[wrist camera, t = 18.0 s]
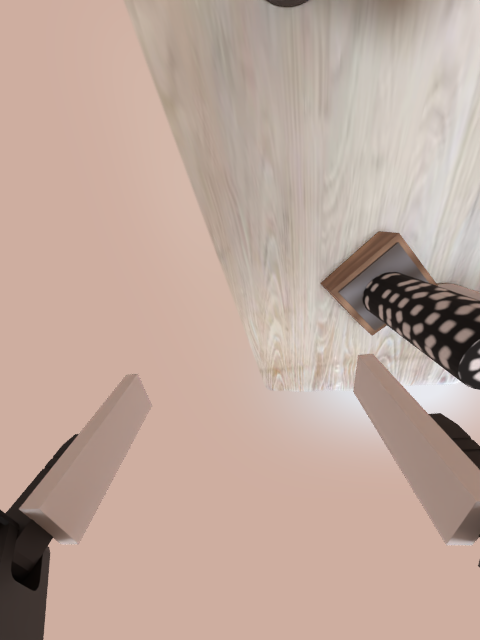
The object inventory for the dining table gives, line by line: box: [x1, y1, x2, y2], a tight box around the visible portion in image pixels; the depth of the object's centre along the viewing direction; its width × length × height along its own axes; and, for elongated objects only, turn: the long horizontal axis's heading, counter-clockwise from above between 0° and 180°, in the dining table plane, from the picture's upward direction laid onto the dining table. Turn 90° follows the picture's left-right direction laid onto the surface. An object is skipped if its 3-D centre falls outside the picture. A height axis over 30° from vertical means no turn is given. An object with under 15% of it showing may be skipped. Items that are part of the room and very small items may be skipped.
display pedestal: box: [321, 232, 438, 335], centre depth 41 cm, size 14×14×6 cm
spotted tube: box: [363, 272, 480, 390], centre depth 29 cm, size 8×8×20 cm
